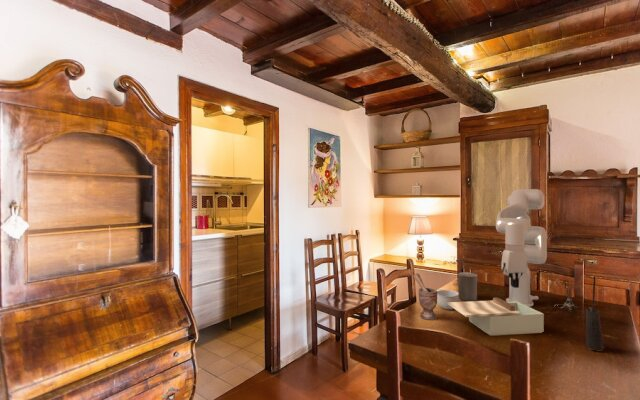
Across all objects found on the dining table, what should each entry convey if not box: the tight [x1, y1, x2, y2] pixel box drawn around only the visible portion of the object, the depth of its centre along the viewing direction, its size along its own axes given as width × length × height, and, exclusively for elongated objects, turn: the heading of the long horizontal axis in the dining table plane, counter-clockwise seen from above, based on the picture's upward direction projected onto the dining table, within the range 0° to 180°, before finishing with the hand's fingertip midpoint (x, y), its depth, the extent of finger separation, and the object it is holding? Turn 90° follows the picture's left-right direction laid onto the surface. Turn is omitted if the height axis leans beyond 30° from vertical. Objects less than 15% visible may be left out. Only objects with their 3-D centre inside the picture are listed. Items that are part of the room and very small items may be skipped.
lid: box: [447, 297, 521, 318], centre depth 148 cm, size 24×16×3 cm, turn 96°
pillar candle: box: [457, 271, 478, 302], centre depth 188 cm, size 10×10×15 cm
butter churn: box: [585, 275, 605, 350], centre depth 128 cm, size 9×10×28 cm
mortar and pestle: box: [413, 273, 438, 321], centre depth 161 cm, size 12×9×20 cm
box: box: [468, 302, 545, 337], centre depth 149 cm, size 24×16×8 cm, turn 96°
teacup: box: [437, 288, 460, 311], centre depth 175 cm, size 14×11×8 cm
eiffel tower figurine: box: [553, 285, 578, 311], centre depth 171 cm, size 15×10×13 cm
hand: (514, 286), depth 155 cm, fingers closed
